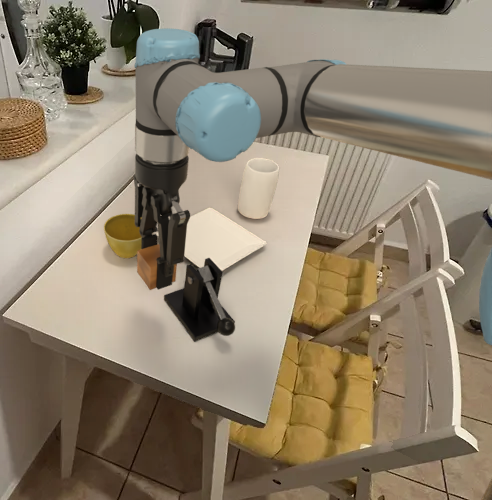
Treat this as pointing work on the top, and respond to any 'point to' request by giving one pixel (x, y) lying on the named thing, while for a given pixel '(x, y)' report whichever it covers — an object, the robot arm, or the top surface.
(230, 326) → the lever
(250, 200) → the cup
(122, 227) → the yellow bowl
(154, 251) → the brown wooden cube
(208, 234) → the plate
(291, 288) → the top surface
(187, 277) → the black lever base
